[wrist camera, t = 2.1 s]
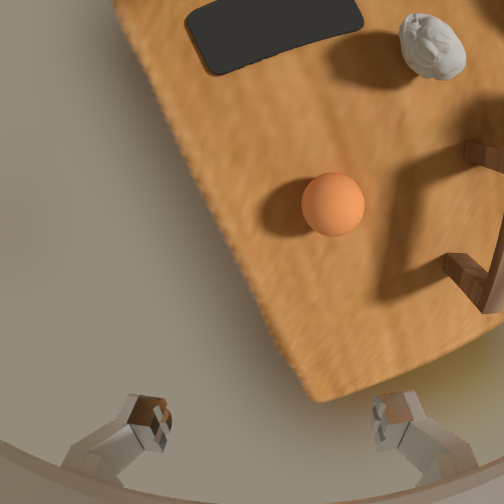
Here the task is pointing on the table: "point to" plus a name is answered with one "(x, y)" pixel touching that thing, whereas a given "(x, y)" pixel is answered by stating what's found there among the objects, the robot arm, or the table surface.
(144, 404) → the robot arm
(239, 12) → the phone
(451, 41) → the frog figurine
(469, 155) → the bridge
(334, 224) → the ball
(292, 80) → the table surface
